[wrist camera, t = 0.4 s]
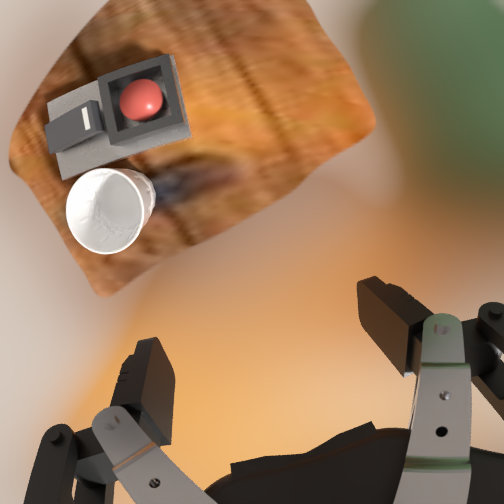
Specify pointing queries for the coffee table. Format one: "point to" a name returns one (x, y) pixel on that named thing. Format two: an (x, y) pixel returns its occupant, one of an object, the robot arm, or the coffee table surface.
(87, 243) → the white cup
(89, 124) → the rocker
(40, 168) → the coffee table surface
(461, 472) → the robot arm
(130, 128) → the grey switch box
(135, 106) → the button
